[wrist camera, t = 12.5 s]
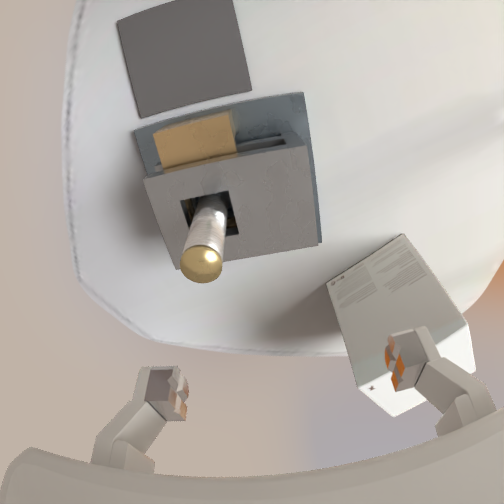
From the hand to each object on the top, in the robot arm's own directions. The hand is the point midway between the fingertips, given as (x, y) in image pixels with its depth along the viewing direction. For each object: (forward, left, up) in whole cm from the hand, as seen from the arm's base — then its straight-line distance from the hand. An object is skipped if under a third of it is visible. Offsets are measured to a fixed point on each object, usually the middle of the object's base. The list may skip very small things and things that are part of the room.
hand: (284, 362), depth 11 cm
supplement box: (+21, +15, -26) cm, 37 cm away
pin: (+2, -5, -25) cm, 25 cm away
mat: (-14, -5, -26) cm, 30 cm away
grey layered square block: (+2, -3, -26) cm, 26 cm away
